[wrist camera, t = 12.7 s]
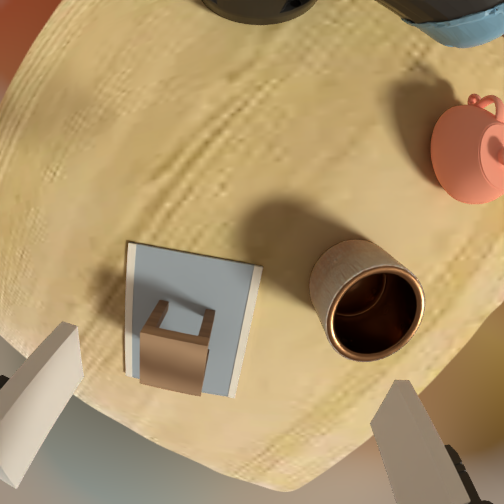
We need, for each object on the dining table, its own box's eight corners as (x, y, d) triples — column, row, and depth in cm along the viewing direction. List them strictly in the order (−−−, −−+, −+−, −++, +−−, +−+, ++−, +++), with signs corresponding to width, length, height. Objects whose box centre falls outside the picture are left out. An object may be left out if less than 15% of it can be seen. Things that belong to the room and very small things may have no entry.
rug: (129, 241, 36) (128, 243, 36) (262, 266, 37) (263, 267, 37) (126, 373, 42) (125, 375, 41) (234, 395, 43) (234, 398, 42)
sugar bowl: (415, 191, 35) (463, 204, 25) (425, 83, 31) (472, 66, 21) (484, 207, 35) (533, 223, 25) (493, 111, 31) (542, 107, 22)
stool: (159, 299, 38) (140, 332, 30) (215, 310, 38) (207, 346, 31) (156, 346, 40) (139, 383, 32) (208, 356, 40) (200, 396, 33)
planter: (299, 316, 39) (312, 360, 30) (317, 231, 36) (339, 255, 27) (377, 323, 40) (405, 364, 30) (400, 245, 37) (439, 270, 27)
